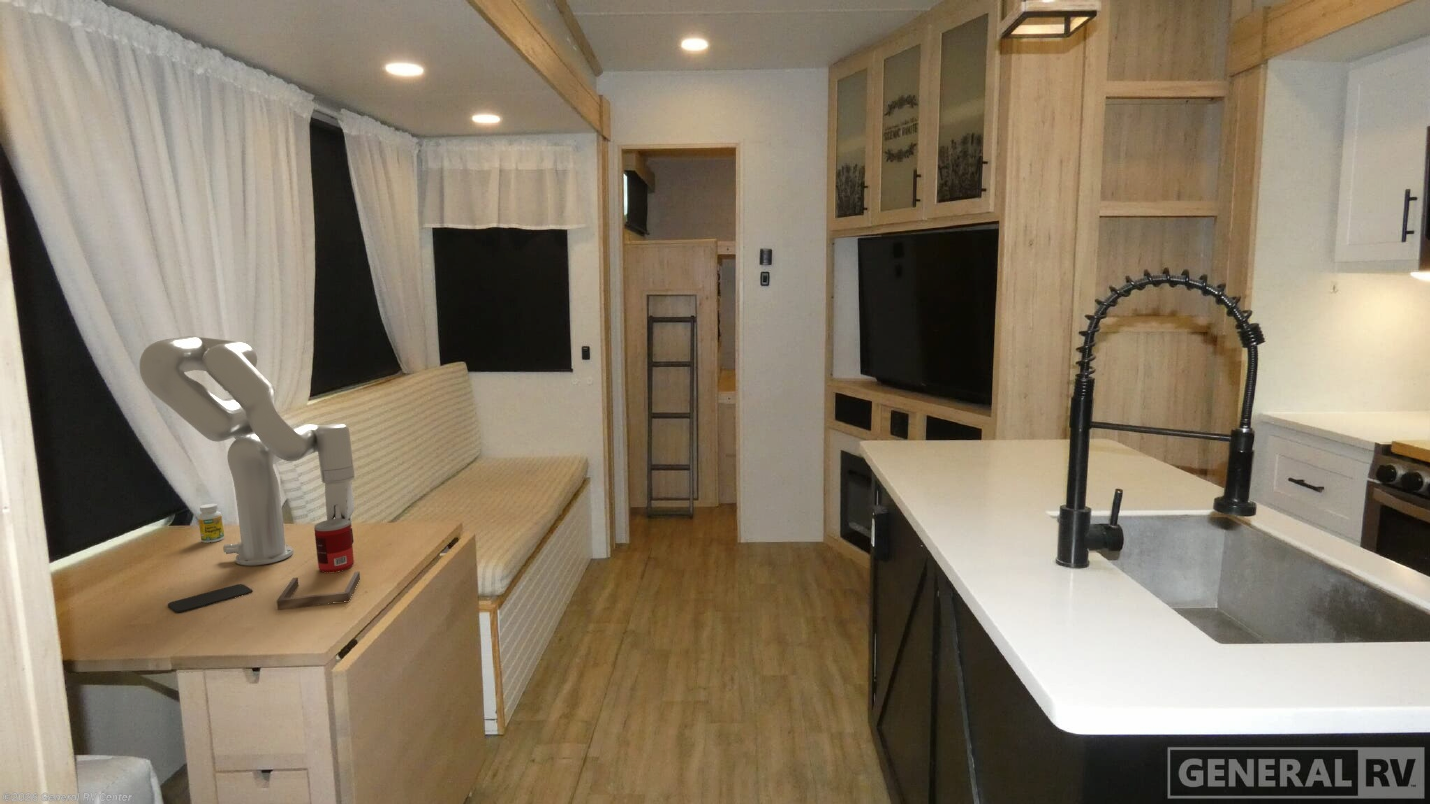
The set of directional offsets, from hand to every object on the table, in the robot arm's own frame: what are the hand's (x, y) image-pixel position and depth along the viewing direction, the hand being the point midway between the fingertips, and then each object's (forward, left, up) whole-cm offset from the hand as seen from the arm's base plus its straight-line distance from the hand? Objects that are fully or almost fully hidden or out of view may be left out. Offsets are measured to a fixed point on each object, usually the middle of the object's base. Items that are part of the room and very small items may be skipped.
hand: (346, 544), depth 206 cm
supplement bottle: (-38, +23, -3) cm, 44 cm away
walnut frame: (-1, -27, -2) cm, 28 cm away
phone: (-24, -23, -3) cm, 33 cm away
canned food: (-1, -10, -3) cm, 10 cm away
